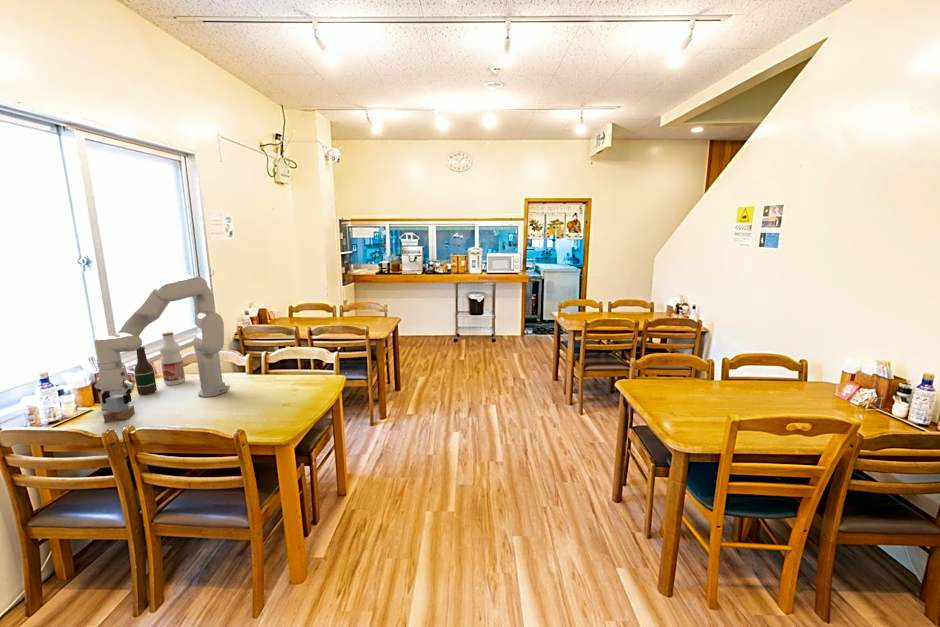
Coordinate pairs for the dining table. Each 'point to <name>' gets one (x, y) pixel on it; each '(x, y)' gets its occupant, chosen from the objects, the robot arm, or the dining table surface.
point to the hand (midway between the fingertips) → (117, 402)
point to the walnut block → (119, 415)
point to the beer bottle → (144, 374)
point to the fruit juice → (171, 360)
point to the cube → (116, 403)
